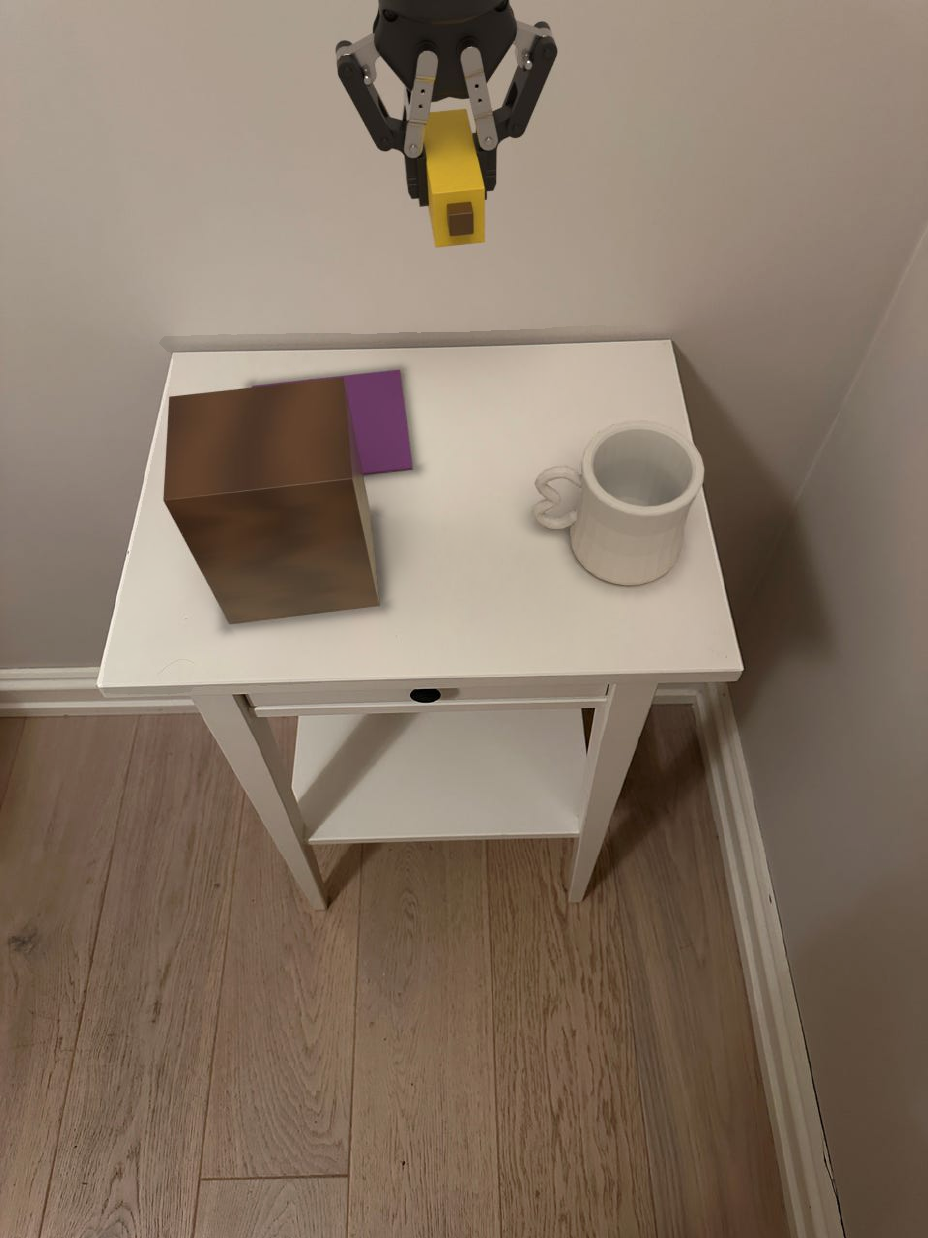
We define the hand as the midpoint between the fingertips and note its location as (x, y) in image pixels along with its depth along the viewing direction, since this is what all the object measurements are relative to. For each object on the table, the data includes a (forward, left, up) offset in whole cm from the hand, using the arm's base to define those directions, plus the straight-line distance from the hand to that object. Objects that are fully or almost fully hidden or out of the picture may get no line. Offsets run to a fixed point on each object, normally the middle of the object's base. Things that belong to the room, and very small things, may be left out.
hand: (451, 195), depth 60 cm
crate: (-15, -15, -22) cm, 30 cm away
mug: (+10, -16, -22) cm, 29 cm away
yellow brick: (0, 0, -1) cm, 1 cm away
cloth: (-12, 0, -22) cm, 25 cm away
